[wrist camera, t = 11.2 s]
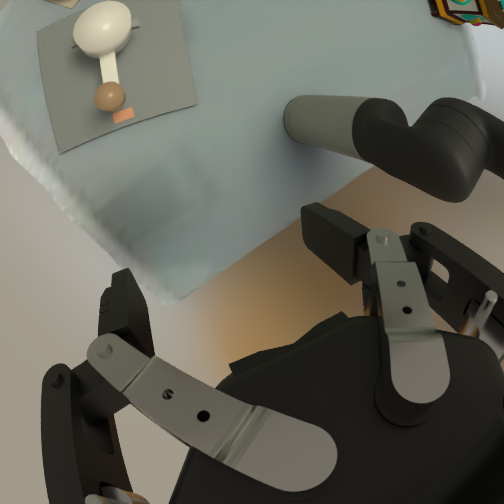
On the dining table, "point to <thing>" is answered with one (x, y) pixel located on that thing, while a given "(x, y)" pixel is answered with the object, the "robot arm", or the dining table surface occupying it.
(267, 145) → the dining table surface
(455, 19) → the decorative lantern
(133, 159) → the dining table surface
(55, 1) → the condiment
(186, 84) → the board
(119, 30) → the cream maraca
